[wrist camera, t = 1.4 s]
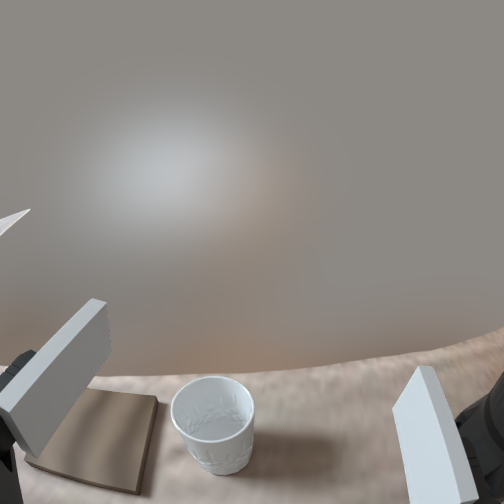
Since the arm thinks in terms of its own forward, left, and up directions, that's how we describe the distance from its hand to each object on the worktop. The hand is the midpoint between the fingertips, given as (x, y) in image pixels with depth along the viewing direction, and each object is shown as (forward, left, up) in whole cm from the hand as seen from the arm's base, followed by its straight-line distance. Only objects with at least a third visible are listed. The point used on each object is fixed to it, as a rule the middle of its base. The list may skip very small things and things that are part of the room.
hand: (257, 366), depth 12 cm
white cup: (+4, -9, -26) cm, 28 cm away
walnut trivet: (+21, -9, -26) cm, 35 cm away
